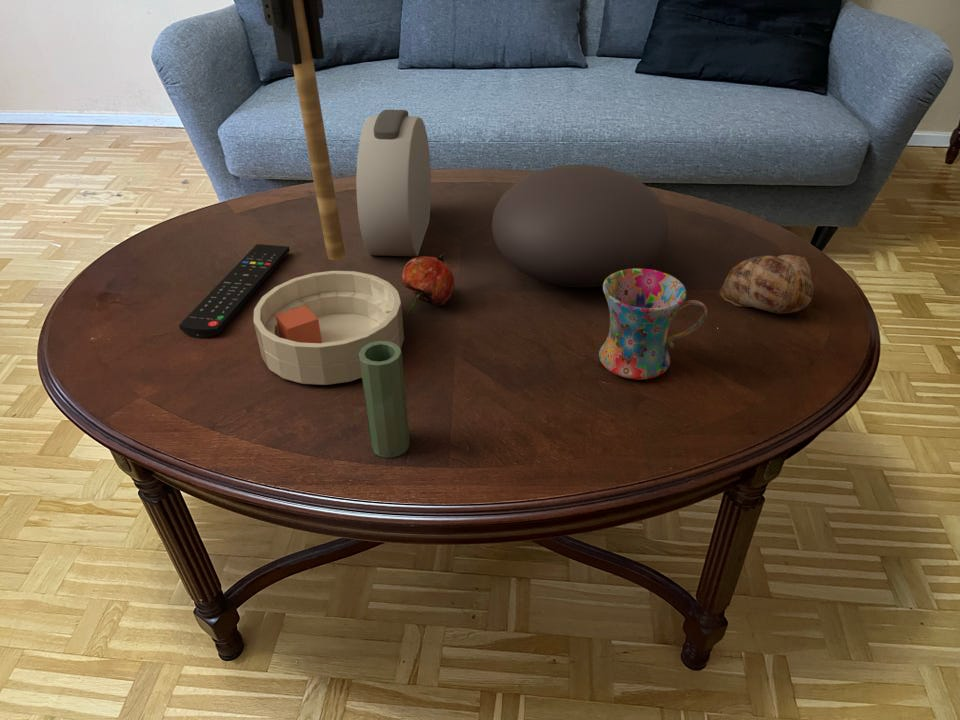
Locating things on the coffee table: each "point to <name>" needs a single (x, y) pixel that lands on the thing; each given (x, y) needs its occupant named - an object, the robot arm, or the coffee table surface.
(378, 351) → the holder
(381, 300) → the bowl
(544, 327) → the coffee table surface
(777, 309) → the seashell
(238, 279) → the remote control
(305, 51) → the stick
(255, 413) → the coffee table surface
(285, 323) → the block
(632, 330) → the mug
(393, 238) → the alarm clock
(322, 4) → the robot arm
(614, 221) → the flattened ellipsoid
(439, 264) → the pomegranate
